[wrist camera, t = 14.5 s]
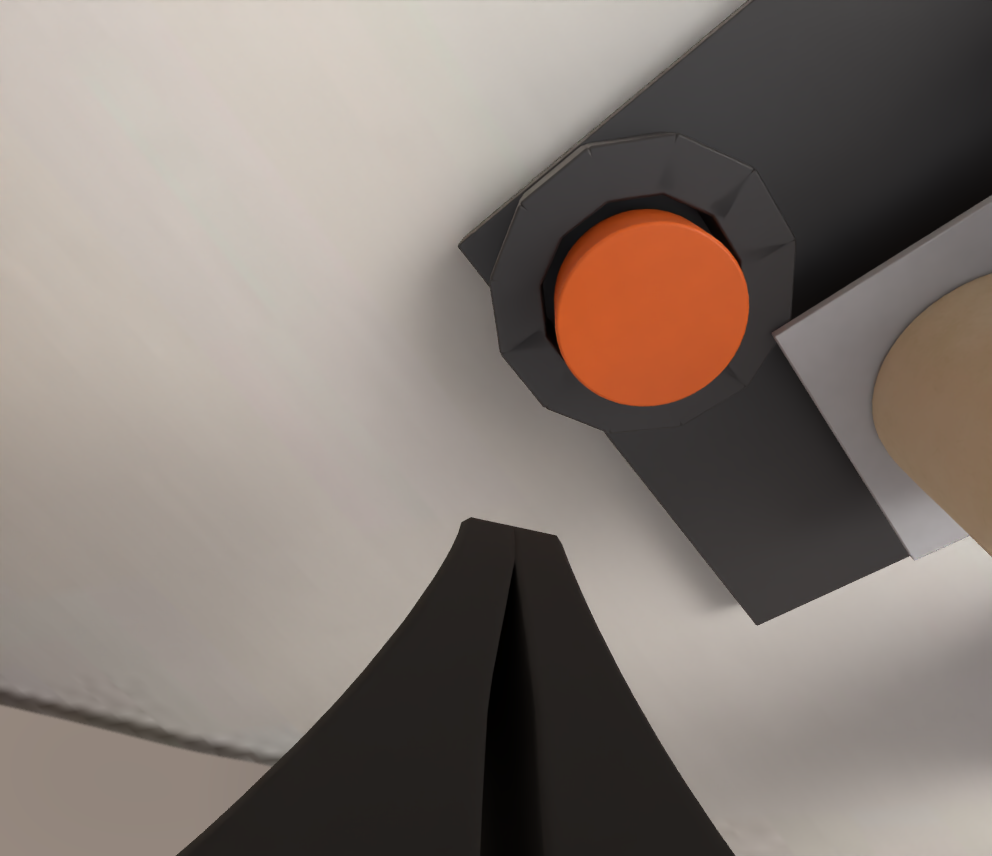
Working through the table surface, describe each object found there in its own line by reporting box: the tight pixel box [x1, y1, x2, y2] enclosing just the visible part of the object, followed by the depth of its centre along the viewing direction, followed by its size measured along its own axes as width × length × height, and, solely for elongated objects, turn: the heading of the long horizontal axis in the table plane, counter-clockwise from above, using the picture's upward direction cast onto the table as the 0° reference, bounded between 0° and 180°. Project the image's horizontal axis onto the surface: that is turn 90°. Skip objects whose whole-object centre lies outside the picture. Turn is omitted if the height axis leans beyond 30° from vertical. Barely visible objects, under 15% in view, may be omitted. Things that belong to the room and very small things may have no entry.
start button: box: [554, 209, 749, 407], centre depth 14 cm, size 4×4×2 cm
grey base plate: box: [458, 0, 992, 625], centre depth 15 cm, size 16×15×3 cm
